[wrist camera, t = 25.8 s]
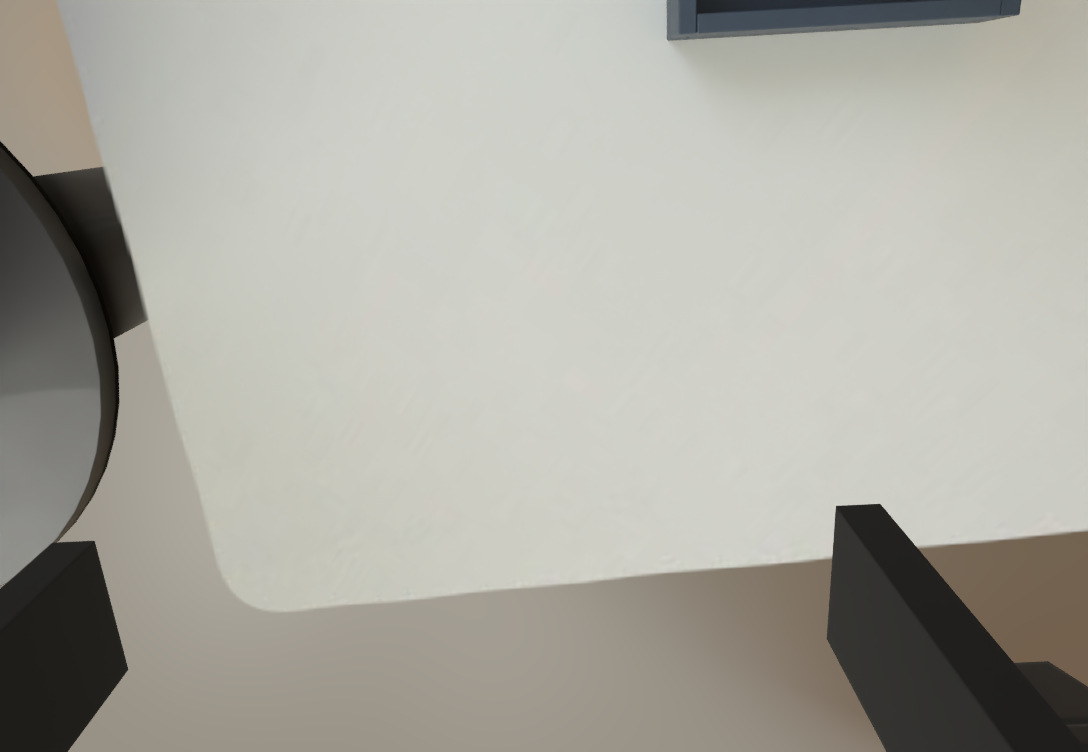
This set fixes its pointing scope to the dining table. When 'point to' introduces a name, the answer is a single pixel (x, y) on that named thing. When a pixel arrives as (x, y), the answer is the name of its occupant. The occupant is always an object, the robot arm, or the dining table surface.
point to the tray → (821, 15)
